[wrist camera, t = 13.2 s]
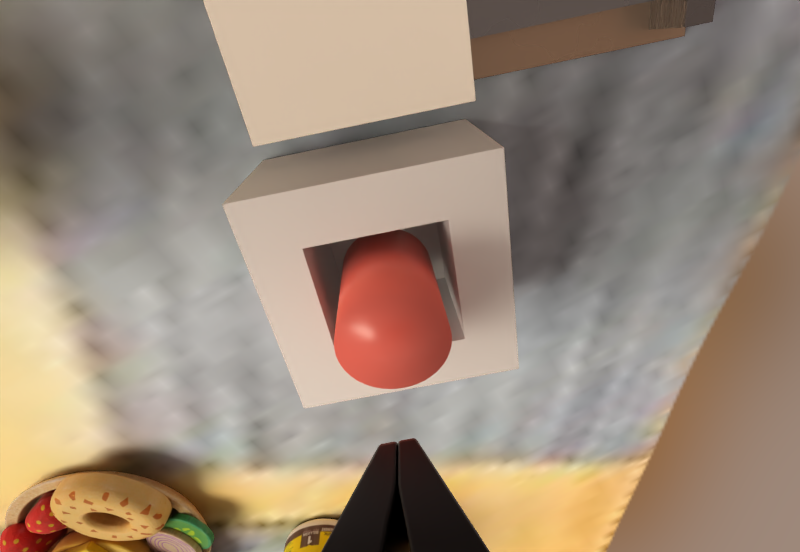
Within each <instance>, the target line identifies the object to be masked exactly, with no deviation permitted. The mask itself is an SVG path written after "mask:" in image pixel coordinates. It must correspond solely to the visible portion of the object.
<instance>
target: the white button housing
mask: <svg viewBox="0 0 800 552" xmlns="http://www.w3.org/2000/svg"><path fill="white" fill-rule="evenodd" d="M222 206H223V208H224V211H225V213H226V215H227V218H228V220H229V223H230V225H231V228H232V230H233V233H234V235H235V238H236V240H237V243H238V245H239V248H240V250H241V253H242V255H243V258H244V260H245V263H246V265H247V268H248V270H249V273H250V275H251V278H252V280H253V283H254V285H255V287H256V290H257V292H258V295H259V297H260V300H261V302H262V305H263V307H264V310H265V312H266V315H267V317H268V320H269V322H270V325H271V327H272V330H273V332H274V335H275V337H276V340H277V342H278V345H279V347H280V350H281V352H282V355H283V357H284V360H285V362H286V364H287V367H288V369H289V372H290V374H291V377H292V379H293V382H294V384H295V387H296V389H297V392H298V394H299V397H300V399H301V402H302V404H303V407H304V408H309V407H315V406H320V405H326V404H331V403H336V402H342V401H347V400H352V399H358V398H363V397H368V396H374V395H379V394H385V393H390V392H395V391H401V390H406V389H411V388H417V387H422V386H428V385H433V384H438V383H444V382H449V381H454V380H460V379H465V378H470V377H476V376H481V375H487V374H492V373H497V372H503V371H508V370H513V369H519V364H518V349H517V334H516V320H515V305H514V290H513V275H512V260H511V245H510V230H509V216H508V201H507V186H506V171H505V156H504V147H503V146H501V145H500V144H499V143H497V142H496V141H495V140H493V139H492V138H490V137H489V136H488V135H486V134H485V133H484V132H482V131H481V130H480V129H478V128H477V127H476V126H474V125H473V124H472V123H470V122H469V121H468V120H466V119H462V120H457V121H452V122H447V123H443V124H438V125H433V126H428V127H423V128H418V129H413V130H408V131H404V132H399V133H394V134H389V135H384V136H379V137H374V138H369V139H364V140H360V141H355V142H350V143H345V144H340V145H335V146H330V147H325V148H321V149H316V150H311V151H306V152H301V153H296V154H291V155H286V156H282V157H277V158H272V159H267V160H263V161H262V162H261V163H260V164H259V165H258V166H257V167H256V169H255V170H254V171H253V172H252V173H251V174H250V175H249V176H248V177H247V178H246V179H245V180H244V181H243V183H242V184H241V185H240V186H239V187H238V188H237V189H236V190H235V191H234V192H233V193H232V194H231V195H230V197H229V198H228V199H227V200H226V201H225V202H224V203H223V204H222ZM395 230H403V231H406V232H408V233H410V234H412V235H413V236H415V237H416V238H418V239H419V240H420V241H421V242H422V244H423V245H424V246H425V248H426V249H427V251H428V254H429V256H430V260H431V263H432V266H433V270H434V273H435V277H436V280H437V284H438V287H439V291H440V294H441V297H442V301H443V304H444V308H445V311H446V315H447V318H448V322H449V325H450V329H451V333H452V346H451V350H450V353H449V355H448V358H447V359H446V361H445V363H444V364H443V365H442V367H441V368H440V369H439V370H438V371H437V372H436V373H435V374H434V375H432V376H431V377H430V378H428V379H426V380H425V381H423V382H420V383H418V384H416V385H413V386H409V387H405V388H399V389H382V388H376V387H372V386H368V385H366V384H363V383H361V382H359V381H357V380H356V379H354V378H353V377H351V376H350V375H349V374H348V373H347V372H346V371H345V370H344V369H343V368H342V366H341V365H340V363H339V362H338V359H337V357H336V354H335V350H334V335H335V327H336V318H337V310H338V302H339V293H340V285H341V276H342V268H343V261H344V257H345V254H346V252H347V250H348V249H349V247H350V246H351V244H352V243H353V242H354V241H355V240H356V239H358V238H359V237H364V236H369V235H374V234H380V233H385V232H390V231H395Z"/></svg>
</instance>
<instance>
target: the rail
mask: <svg viewBox="0 0 800 552" xmlns="http://www.w3.org/2000/svg"><path fill="white" fill-rule="evenodd" d="M715 1H716V0H466V2H467V13H468V23H469V34H470V45H471V56H472V66H473V77H474V80H475V79H480V78H485V77H489V76H494V75H499V74H504V73H509V72H513V71H518V70H523V69H528V68H533V67H537V66H542V65H547V64H552V63H557V62H562V61H566V60H571V59H576V58H581V57H586V56H590V55H595V54H600V53H605V52H610V51H615V50H619V49H624V48H629V47H634V46H639V45H643V44H648V43H653V42H658V41H663V40H668V39H672V38H677V37H682V36H685V28H686V27H689V26H694V25H699V24H703V23H708V22H713V15H714V8H715Z"/></svg>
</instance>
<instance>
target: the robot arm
mask: <svg viewBox="0 0 800 552" xmlns="http://www.w3.org/2000/svg"><path fill="white" fill-rule="evenodd" d="M321 552H490V551H489V550H488V548H487V547H486V545H485V544H484V542H483V541H482V539H481V537H480V536H479V534H478V533H477V531H476V530H475V528H474V527H473V525H472V524H471V522H470V521H469V519H468V518H467V516H466V515H465V513H464V511H463V510H462V508H461V507H460V505H459V504H458V502H457V501H456V499H455V498H454V496H453V495H452V493H451V492H450V490H449V488H448V487H447V485H446V484H445V482H444V481H443V479H442V478H441V476H440V475H439V473H438V472H437V470H436V469H435V467H434V465H433V464H432V462H431V461H430V459H429V458H428V456H427V455H426V453H425V452H424V450H423V449H422V447H421V446H420V444H419V443H418V441H417V440H416V439H414V438H412V439H407V440H401V441H399V443H397V442H390V443H385V444H381V445H379V447H378V448H377V450H376V452H375V454H374V456H373V457H372V459H371V461H370V463H369V465H368V467H367V468H366V470H365V472H364V474H363V476H362V478H361V479H360V481H359V483H358V485H357V487H356V489H355V490H354V492H353V494H352V496H351V498H350V500H349V501H348V503H347V505H346V507H345V509H344V511H343V512H342V514H341V516H340V518H339V520H338V522H337V523H336V525H335V527H334V529H333V531H332V533H331V534H330V536H329V538H328V540H327V542H326V544H325V545H324V547H323V549H322V551H321Z"/></svg>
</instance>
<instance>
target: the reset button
mask: <svg viewBox="0 0 800 552" xmlns="http://www.w3.org/2000/svg"><path fill="white" fill-rule="evenodd" d="M451 346H452V333H451V329H450V325H449V322H448V318H447V315H446V311H445V308H444V304H443V301H442V297H441V294H440V291H439V287H438V284H437V280H436V277H435V273H434V270H433V266H432V263H431V260H430V256H429V254H428V251H427V249H426V248H425V246H424V245H423V244H422V242H421V241H420V240H419V239H418V238H416V237H415V236H413V235H412V234H410V233H408V232H406V231H403V230H395V231H390V232H385V233H380V234H374V235H369V236H364V237H359V238H358V239H356V240H355V241H354V242H353V243H352V244H351V246H350V247H349V249H348V250H347V252H346V254H345V257H344V261H343V268H342V276H341V285H340V293H339V302H338V310H337V318H336V327H335V335H334V350H335V354H336V357H337V359H338V362H339V363H340V365H341V366H342V368H343V369H344V370H345V371H346V372H347V373H348V374H349V375H350V376H351V377H353V378H354V379H356V380H357V381H359V382H361V383H363V384H366V385H368V386H372V387H376V388H382V389H399V388H405V387H409V386H413V385H416V384H418V383H420V382H423V381H425V380H426V379H428V378H430V377H431V376H432V375H434V374H435V373H436V372H437V371H438V370H439V369H440V368H441V367H442V365H443V364H444V363H445V361H446V359H447V358H448V355H449V353H450V350H451Z"/></svg>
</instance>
